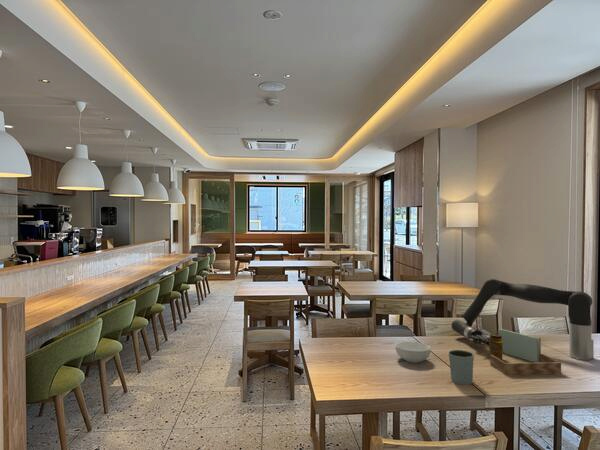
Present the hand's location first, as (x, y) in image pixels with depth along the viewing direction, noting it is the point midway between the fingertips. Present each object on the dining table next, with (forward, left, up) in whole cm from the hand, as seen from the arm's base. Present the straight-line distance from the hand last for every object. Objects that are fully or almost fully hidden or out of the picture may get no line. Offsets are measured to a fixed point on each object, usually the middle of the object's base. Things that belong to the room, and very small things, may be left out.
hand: (489, 343), depth 208 cm
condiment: (0, +5, -6) cm, 8 cm away
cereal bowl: (+42, +5, -6) cm, 43 cm away
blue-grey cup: (+30, +33, -6) cm, 45 cm away
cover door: (-13, +4, -6) cm, 15 cm away
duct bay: (-6, +20, -6) cm, 22 cm away
